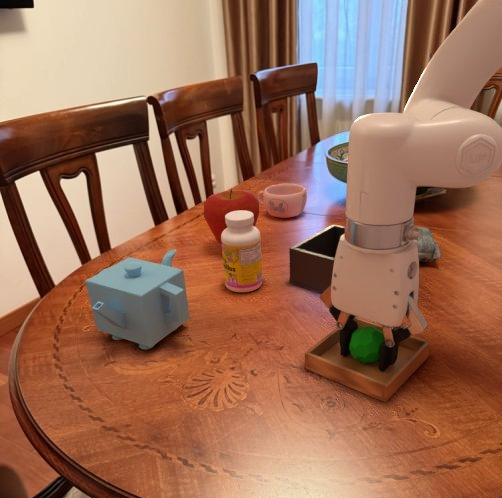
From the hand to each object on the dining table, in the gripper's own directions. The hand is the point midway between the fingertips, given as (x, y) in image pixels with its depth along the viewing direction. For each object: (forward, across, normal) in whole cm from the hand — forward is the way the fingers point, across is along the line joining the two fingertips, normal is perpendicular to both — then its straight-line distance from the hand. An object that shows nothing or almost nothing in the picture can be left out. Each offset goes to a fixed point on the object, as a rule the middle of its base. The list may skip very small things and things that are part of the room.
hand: (367, 357), depth 70 cm
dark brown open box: (+1, +15, -20) cm, 25 cm away
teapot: (+1, +31, +12) cm, 33 cm away
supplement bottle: (+1, +29, -8) cm, 30 cm away
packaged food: (+1, +11, -35) cm, 37 cm away
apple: (+1, +42, -20) cm, 47 cm away
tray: (+1, 0, 0) cm, 1 cm away
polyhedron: (+1, 0, 0) cm, 1 cm away
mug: (+1, +46, -41) cm, 62 cm away
